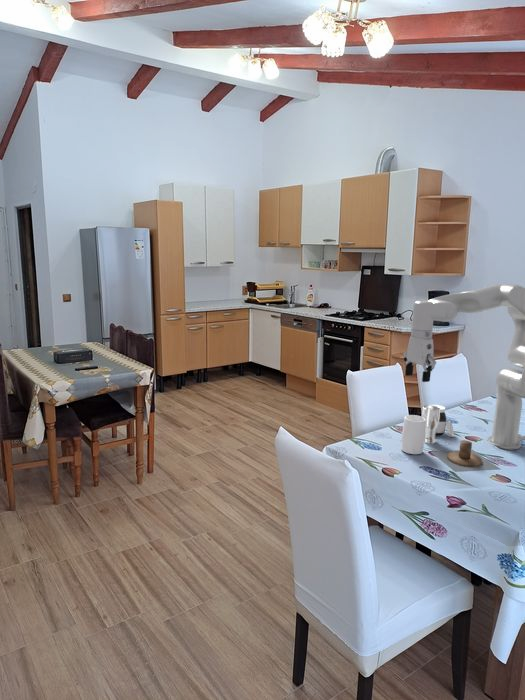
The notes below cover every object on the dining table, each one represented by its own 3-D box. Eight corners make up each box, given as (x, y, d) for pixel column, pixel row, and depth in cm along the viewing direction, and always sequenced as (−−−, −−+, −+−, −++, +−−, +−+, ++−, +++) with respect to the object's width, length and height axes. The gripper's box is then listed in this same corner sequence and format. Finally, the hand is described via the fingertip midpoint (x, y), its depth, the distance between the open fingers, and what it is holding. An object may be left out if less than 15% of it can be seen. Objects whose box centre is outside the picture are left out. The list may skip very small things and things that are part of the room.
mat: (472, 451, 203) (472, 449, 203) (500, 471, 186) (500, 469, 186) (429, 453, 200) (430, 451, 200) (454, 473, 183) (455, 471, 183)
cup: (396, 450, 202) (399, 415, 200) (414, 448, 205) (418, 413, 202) (408, 458, 195) (412, 422, 192) (427, 456, 197) (431, 421, 194)
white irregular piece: (422, 428, 228) (424, 403, 226) (448, 429, 228) (450, 404, 226) (429, 438, 216) (432, 411, 214) (457, 439, 216) (460, 413, 214)
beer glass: (437, 446, 208) (441, 410, 205) (419, 444, 209) (423, 409, 206) (435, 440, 214) (439, 405, 211) (418, 438, 216) (421, 404, 213)
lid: (469, 453, 200) (471, 435, 198) (488, 466, 188) (490, 447, 187) (441, 454, 198) (442, 437, 196) (458, 467, 186) (460, 449, 185)
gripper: (445, 337, 187) (440, 383, 190) (414, 330, 203) (410, 372, 206) (429, 338, 184) (424, 385, 187) (398, 330, 200) (394, 373, 203)
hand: (417, 378), depth 197 cm, fingers open, 9 cm apart
